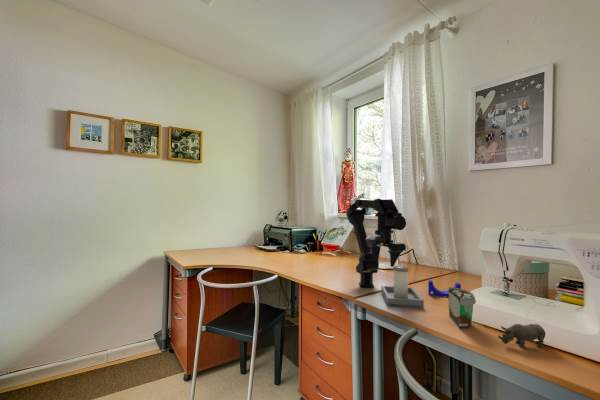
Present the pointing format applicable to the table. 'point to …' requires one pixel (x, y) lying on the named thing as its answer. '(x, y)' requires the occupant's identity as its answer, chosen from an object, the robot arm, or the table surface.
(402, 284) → the grey round glossy part
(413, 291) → the charcoal tray
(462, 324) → the food container
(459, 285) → the cable clip
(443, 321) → the table surface
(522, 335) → the rhino figurine
